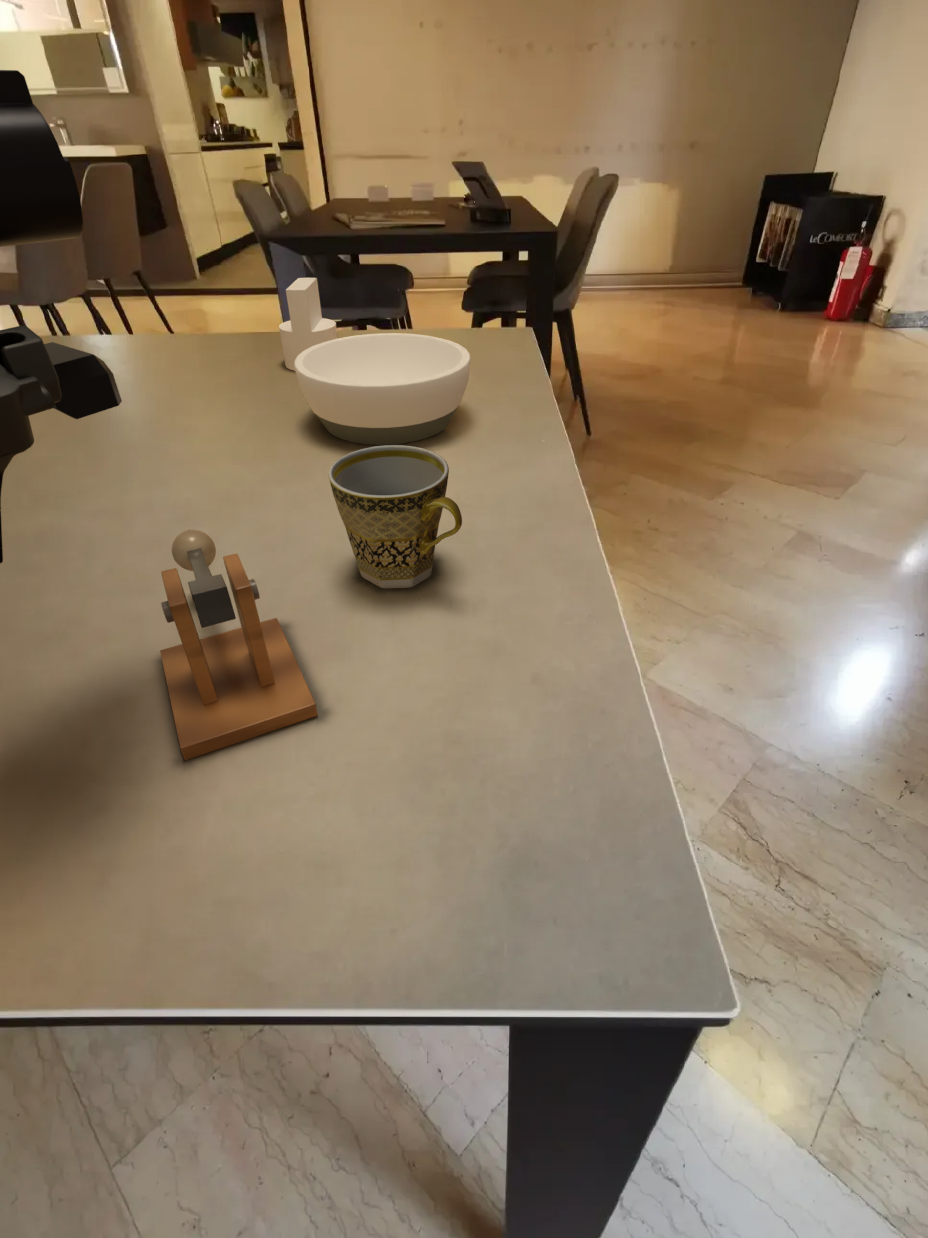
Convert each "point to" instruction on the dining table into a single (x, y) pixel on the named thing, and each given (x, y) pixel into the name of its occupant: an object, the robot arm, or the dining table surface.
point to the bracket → (230, 672)
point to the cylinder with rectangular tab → (304, 321)
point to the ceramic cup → (393, 510)
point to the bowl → (384, 385)
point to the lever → (203, 577)
